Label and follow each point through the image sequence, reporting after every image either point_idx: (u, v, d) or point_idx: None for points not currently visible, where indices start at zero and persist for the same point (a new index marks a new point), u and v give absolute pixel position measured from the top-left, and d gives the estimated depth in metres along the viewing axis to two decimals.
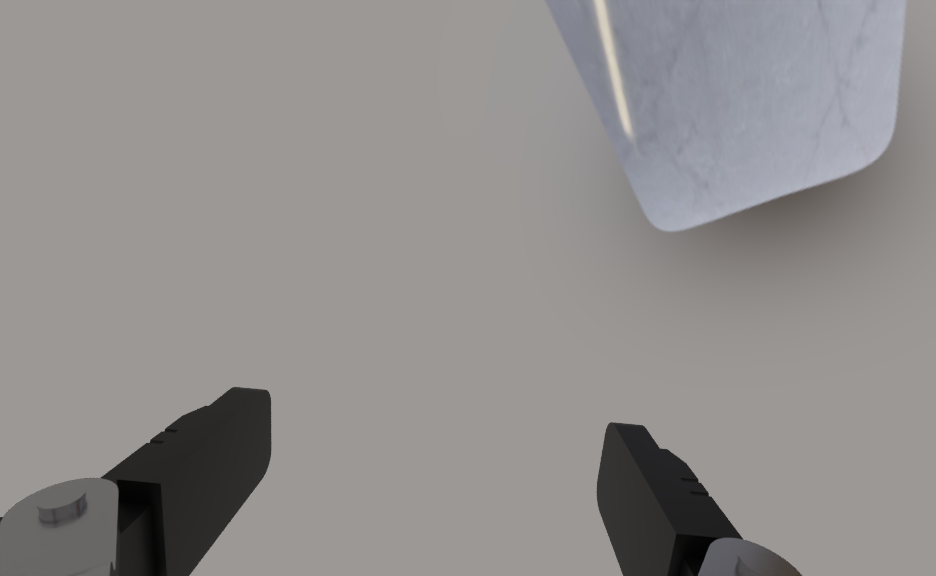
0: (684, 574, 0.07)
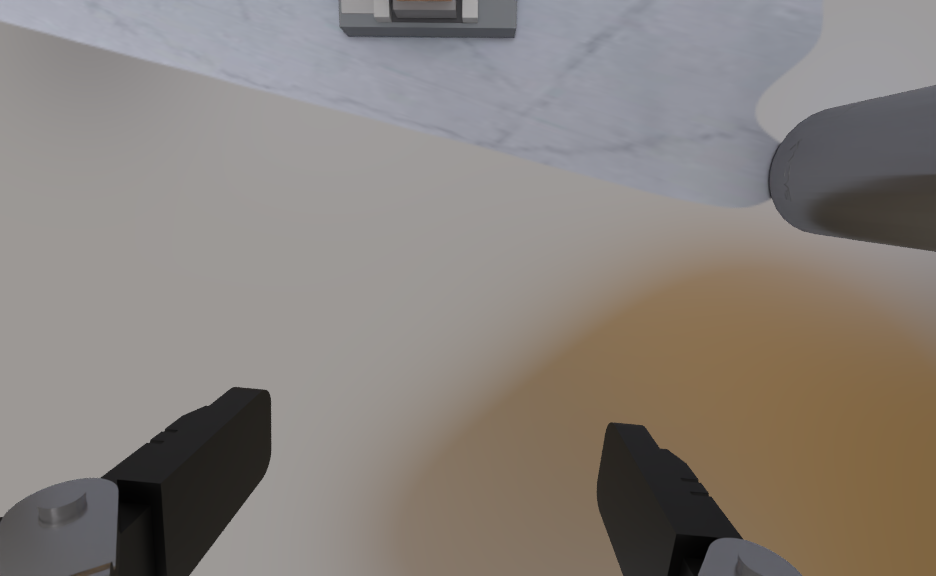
0: (684, 574, 0.07)
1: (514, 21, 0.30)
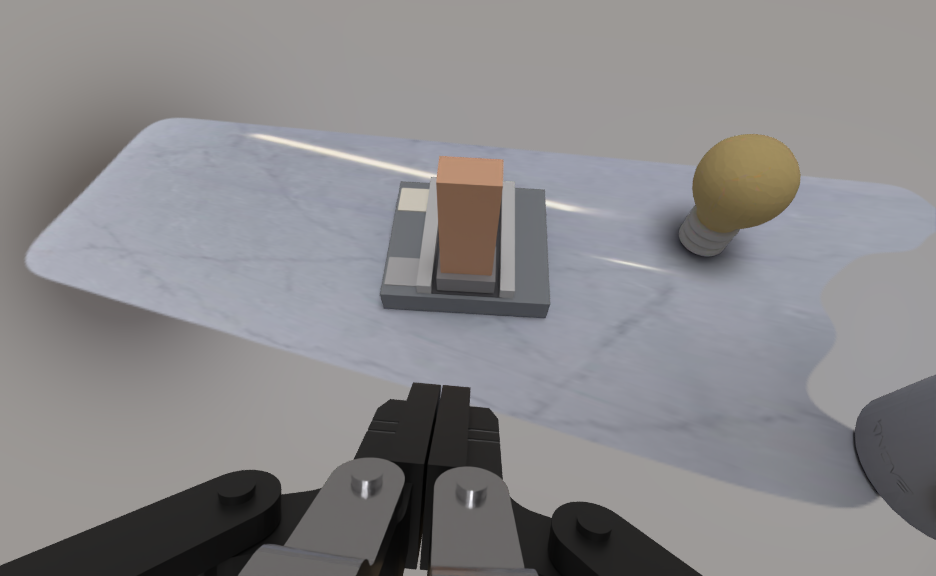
0: None
1: (548, 299, 0.32)
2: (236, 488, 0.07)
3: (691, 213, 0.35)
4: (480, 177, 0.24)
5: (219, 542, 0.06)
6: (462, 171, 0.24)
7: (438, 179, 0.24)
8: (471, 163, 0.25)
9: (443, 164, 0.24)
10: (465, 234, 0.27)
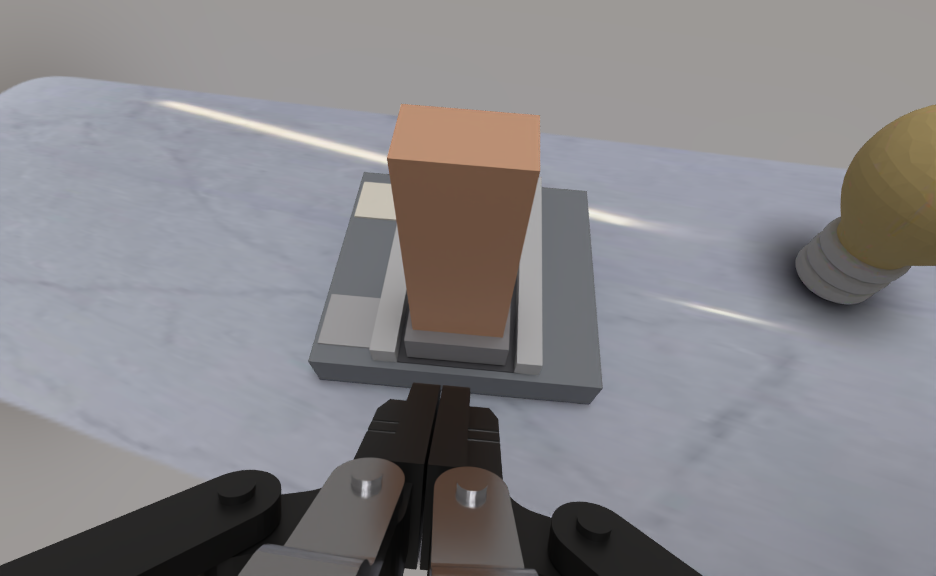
0: None
1: (598, 378, 0.19)
2: (236, 488, 0.07)
3: (826, 235, 0.22)
4: (489, 150, 0.11)
5: (219, 542, 0.06)
6: (449, 135, 0.11)
7: (393, 151, 0.10)
8: (469, 120, 0.11)
9: (407, 121, 0.11)
10: (455, 269, 0.14)
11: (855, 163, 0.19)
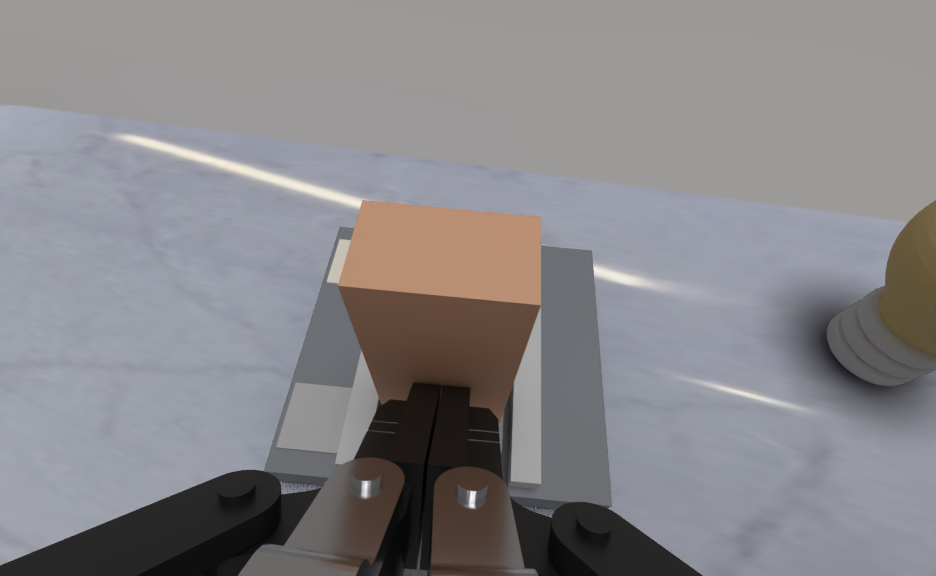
0: None
1: (607, 492, 0.16)
2: (236, 488, 0.07)
3: (866, 310, 0.19)
4: (473, 272, 0.08)
5: (219, 542, 0.06)
6: (423, 249, 0.08)
7: (346, 275, 0.08)
8: (449, 224, 0.09)
9: (368, 226, 0.09)
10: (435, 382, 0.11)
11: (907, 238, 0.16)
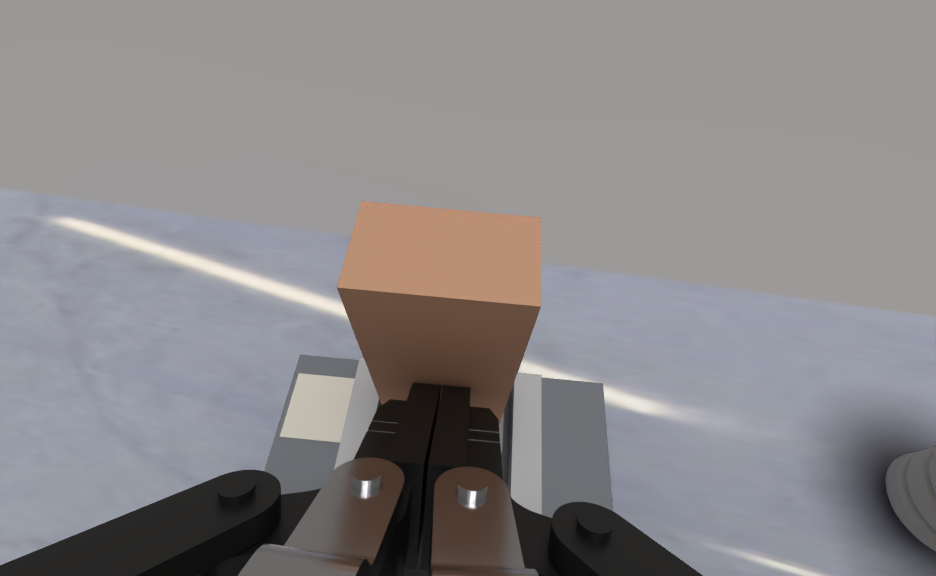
0: None
1: None
2: (236, 488, 0.07)
3: None
4: (473, 273, 0.08)
5: (219, 542, 0.06)
6: (422, 250, 0.08)
7: (345, 276, 0.08)
8: (448, 225, 0.09)
9: (367, 227, 0.08)
10: (436, 383, 0.11)
11: None
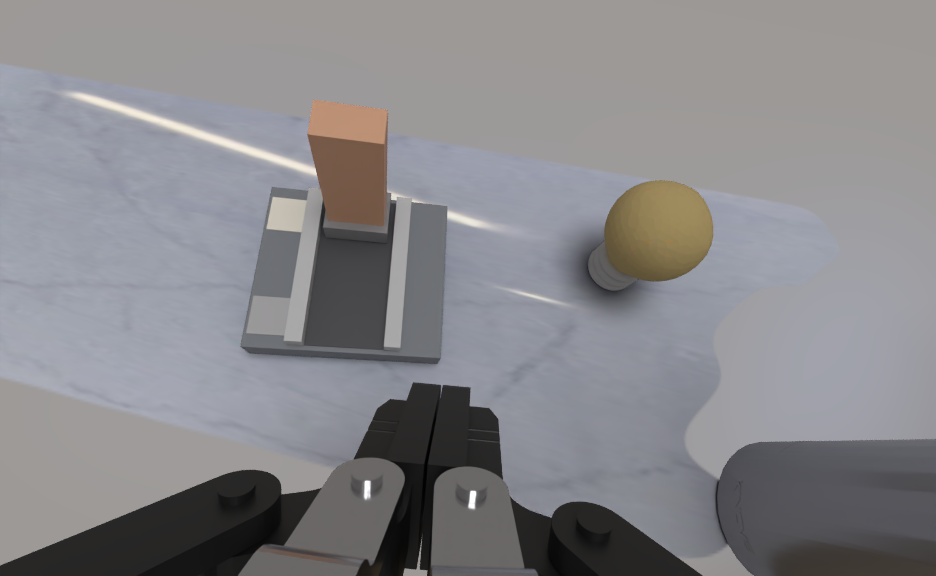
0: None
1: (438, 351, 0.29)
2: (236, 488, 0.07)
3: (602, 248, 0.33)
4: (359, 131, 0.21)
5: (219, 542, 0.06)
6: (339, 121, 0.21)
7: (310, 130, 0.21)
8: (349, 112, 0.22)
9: (316, 111, 0.21)
10: (349, 186, 0.25)
11: (610, 212, 0.29)
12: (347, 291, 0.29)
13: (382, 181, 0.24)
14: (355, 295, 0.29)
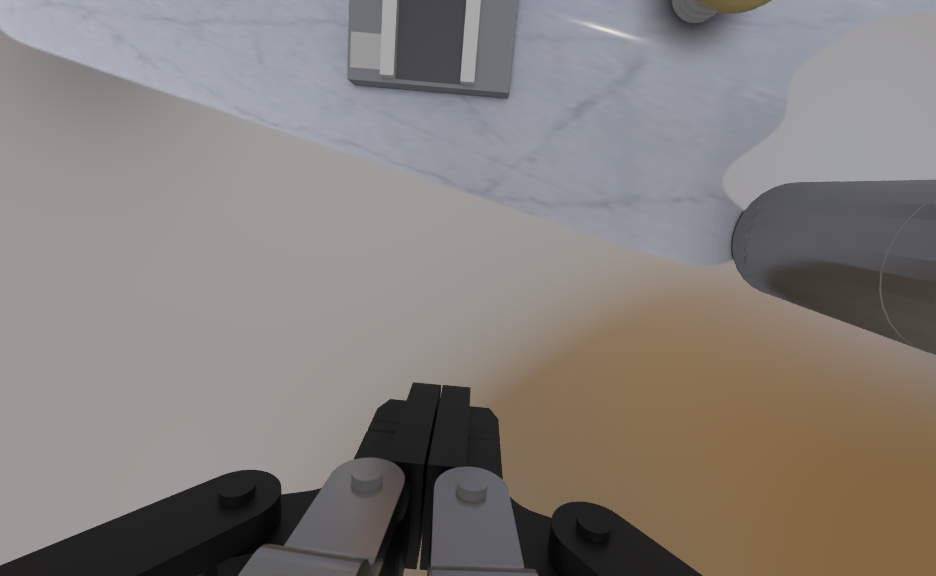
0: None
1: (507, 86, 0.33)
2: (236, 488, 0.07)
3: None
4: None
5: (219, 542, 0.06)
6: None
7: None
8: None
9: None
10: None
11: None
12: (428, 26, 0.33)
13: None
14: (436, 30, 0.33)
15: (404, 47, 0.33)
